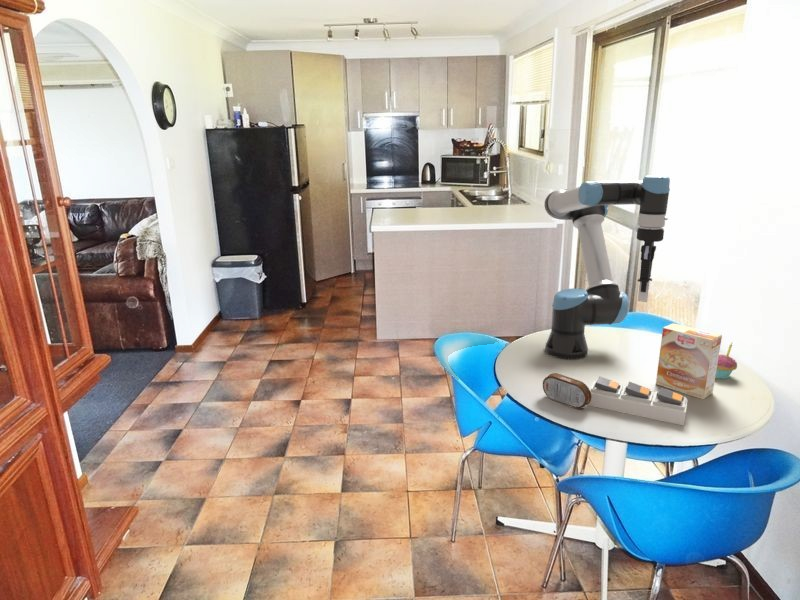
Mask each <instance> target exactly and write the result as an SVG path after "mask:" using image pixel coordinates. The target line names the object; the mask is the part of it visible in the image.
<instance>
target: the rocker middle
mask: <svg viewBox="0 0 800 600" xmlns="http://www.w3.org/2000/svg"><path fill="white" fill-rule="evenodd" d="M626 386H627V389H626V391H625V393H627V394H630V395H632V396H635V397H639V398H644V399H647V398H648V395H649V392H650V390H651V389H650V388H648V387H645V386H643V385H640V384H638V383H634V382H631V381H628V384H627V385H626Z"/></svg>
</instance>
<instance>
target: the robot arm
mask: <svg viewBox="0 0 800 600" xmlns="http://www.w3.org/2000/svg"><path fill="white" fill-rule="evenodd" d="M670 180H671V179H670V177H669V176H667V175H658V174H657V175H653V174H652V175H645V176H644V177H643V179H642V180H641V179H636V178H635V179H633V178H632V179H630V178H629V179H626V180H625V179H624V180H601V181H600V180H590V181H589V180H588V181H584V182H582V183H581V184H580V186H578V187H575V188H571V189H559V190H558V189H557V190H554V191H552V192H550V193H549V194H548V195H547V196H546V198H545V200H544V210H545V211H546V213H547V214H548V215H549V216H550V217H552V218H554V219H557V220H559V221H560V220H563V221H569V220H571V221H572V226H573V227H574V228H575V229H578V235H579V241H580V245H581V246H580V247H581V251H582V257H583V262H584V268H585V273H586V277H587V283H588V287H587V288H586V289H583V288H566V289H561V290H559V291H558V292H557V293H555V294H554V297H553V300H552V301H553V302H552V315H551V330H550V333H549V336H548V338H547V340H546V342H545V346H544V347H545V348H544V350H545V351H544V352H545V353H546V354H547V355H548V356H551V357H552V358H553V357H554V358H556V359H562V360H579V359H580V358H581V359H584V358H586V357H587V356H588V351H589V347H588V343H587V340H586V335H585V327H586V326H596V325H597V326H598V325H614V324H615V325H616V324H620V323H622V322H623V321H624V320H625V319H626V318H627V315H628V312H629V307H630V306H629V305H630V303H629V301H630V300H629V297H628V295H627V293H625V292H624V291H622V290H620V287H619V285H618V284H617V283H616V282H615V281H613V275H612V271H611V270H612V269H611V265H610V260H609V255H608V252H607V251H608V250H607V246H606V240H605V236H604V231H603V226H602V224H603V222H604V221H605V218H606V217H607V215H608V213H609V208H608V207H609V206H612V205H614V206H615V205H616V206H618V205H619V206H620V205H636V206H639V212H638V219H637V226H638V228H637V231H636V239H637V240H638V241H641V242H643V244H642V245H641V247H640V253H641V254H640V271H639V278H638V279H637V282H639V284H638V295H637V302H641V303H642V302H643V303H648V300H649V299H648V298H649V289H650V284H651V283H650V282H652V281H653V278H651V277H652V275H651V274H652V269H653V262H654V259H655V254H656V253H655V252H656V250H657V245H655V243H659V242H661V241H663V240H664V234H665V229H664V227H665V224H666V221H668V220H669V218H668V217H667V212H668V211H667V210H668V202H669V196H670V195H669V194H670V190H671V189H670V182H671V181H670Z"/></svg>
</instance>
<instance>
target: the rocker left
mask: <svg viewBox="0 0 800 600" xmlns="http://www.w3.org/2000/svg"><path fill="white" fill-rule="evenodd" d="M596 380H597V382H596V384H595V387H596V388H599V389H601V390H604V391H608V392H613V393H616V391H617V389H618V386H619V385H620V383H619V382H617V381H614V380H611V379H608V378H606V377H603V376H598V378H597V379H596Z"/></svg>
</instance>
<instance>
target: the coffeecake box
mask: <svg viewBox="0 0 800 600" xmlns="http://www.w3.org/2000/svg"><path fill="white" fill-rule="evenodd" d="M722 338H723V335H722V334H719V333H715V332H712V331H711V332H710V331H708V330H707V331H706V330H703V329H699V328H695V327H690V326H687V325H682V324H679V323H678V324H677V323H674V322H673V323H670V324H669V325H666V326H663V327H662V332H661V339H660V340H661V341H660V348H659V349H660V350H659V355H658V356H659V357H658V363H657V365H658V366H657V370H656V372H657V373H656V378H655V379H656V380H655V385H658V386H661V387H663V386H664V388H667V389H668V390H669V389H670V390H673V391H675V392H679V393H682V394H685V395H688V396H692V397H695V398H697V399H699V400H705V399H706V398H707V397H709V396H711V395H712V394H713V392H714V387H715V381H716V380H715V379H716V377H715V376H716V370H717V363H718V357H719V355H720V352H721V345H722Z"/></svg>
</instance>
